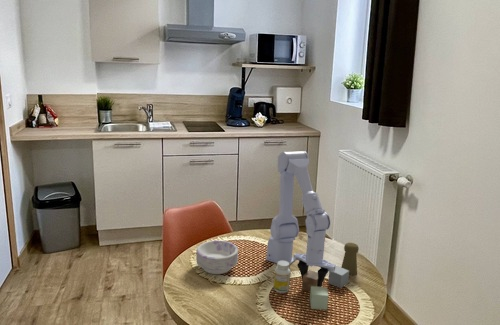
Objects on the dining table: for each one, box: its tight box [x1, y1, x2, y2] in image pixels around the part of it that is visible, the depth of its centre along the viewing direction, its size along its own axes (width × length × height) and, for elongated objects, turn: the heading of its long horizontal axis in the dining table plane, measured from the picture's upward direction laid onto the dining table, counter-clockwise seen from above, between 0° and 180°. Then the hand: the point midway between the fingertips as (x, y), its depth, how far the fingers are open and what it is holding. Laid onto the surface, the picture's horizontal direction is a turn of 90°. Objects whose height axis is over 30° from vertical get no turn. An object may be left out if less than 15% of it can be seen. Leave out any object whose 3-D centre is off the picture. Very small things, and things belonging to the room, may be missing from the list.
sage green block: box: [309, 286, 329, 311], centre depth 131 cm, size 5×5×5 cm
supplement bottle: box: [273, 260, 292, 294], centre depth 139 cm, size 5×5×10 cm
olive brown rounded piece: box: [340, 242, 359, 276], centre depth 153 cm, size 6×6×11 cm
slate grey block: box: [327, 265, 350, 289], centre depth 145 cm, size 5×5×5 cm
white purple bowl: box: [195, 240, 239, 275], centre depth 151 cm, size 15×15×8 cm
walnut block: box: [301, 269, 318, 293], centre depth 141 cm, size 5×5×5 cm
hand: (311, 284), depth 141 cm, fingers closed on walnut block, 5 cm apart
